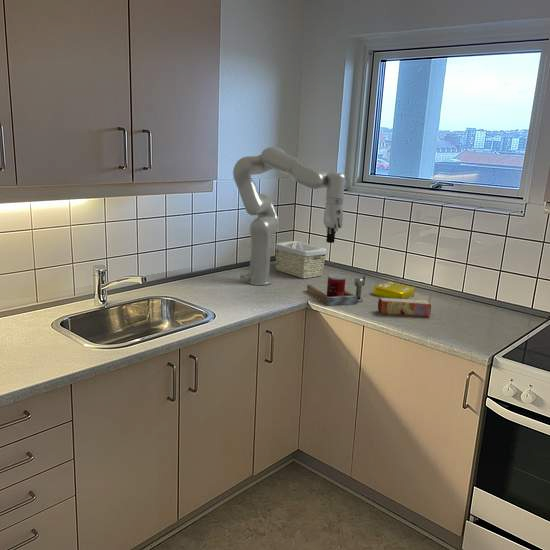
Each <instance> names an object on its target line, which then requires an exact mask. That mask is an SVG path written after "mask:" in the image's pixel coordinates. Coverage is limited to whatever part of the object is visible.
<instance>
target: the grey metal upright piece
mask: <svg viewBox="0 0 550 550" xmlns="http://www.w3.org/2000/svg"><path fill="white" fill-rule="evenodd" d="M353 282H354V283H353V284H354V286H355V287H356V288H355V289H356V290H355V295H357V296H358V301H357V303H362V302H363V298H361V297H362V287H364V286H365V284H366V275H363V276H362V277H359V278H357V277H356V278H355V279H354V281H353Z"/></svg>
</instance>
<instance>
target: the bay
mask: <svg viewBox="0 0 550 550" xmlns="http://www.w3.org/2000/svg"><path fill="white" fill-rule="evenodd" d="M307 291H308V293H309V294H310V293H311V294H310V295H312V296H313V295H314V297H315V298H316V297H317V298H316V299H318V300H319V299H320V300H319V301H320V302H322V303H323V302H324V304H325V305H326V306H328V307H331V306H332V307H333V305H335V306H347V305H348V304H349V305H358V302H357V301H358V296H357V295H356V294H354V293H351V292H349V291H348V290H347V289H345V290H344V296H337V297H328V296H327V294H325V293H324V292H322V291H321V290H319V289H318V288H316V287H315V286H313V285H312V284H307V287H306V292H307ZM346 304H347V305H346Z"/></svg>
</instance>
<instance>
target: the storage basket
mask: <svg viewBox="0 0 550 550" xmlns="http://www.w3.org/2000/svg"><path fill="white" fill-rule="evenodd" d="M274 248H275V263H276V264H275V269H276V270H277V271H279V272H282V273H285V274H287V275H291V276H294V277H297V278H301V279H309V278H315V277H316V278H317V277H321V276H322V275H323V273H324V266H325V259H326V256H327V253H328V252H327V250H328V249H327V248H324V247H321V246H317V245H313V244H309V243H306V242H302V241H298V240H294V241H293V240H292V241H291V240H290V241H285V242H284V241H283V242H277V243H275V246H274Z"/></svg>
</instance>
